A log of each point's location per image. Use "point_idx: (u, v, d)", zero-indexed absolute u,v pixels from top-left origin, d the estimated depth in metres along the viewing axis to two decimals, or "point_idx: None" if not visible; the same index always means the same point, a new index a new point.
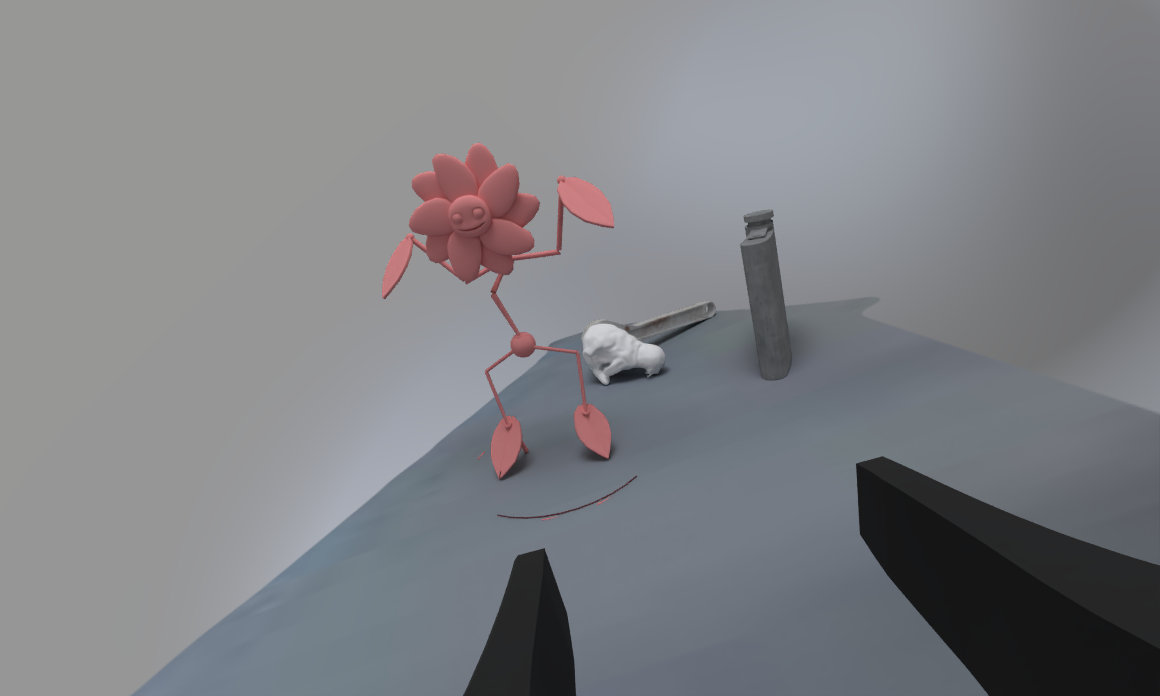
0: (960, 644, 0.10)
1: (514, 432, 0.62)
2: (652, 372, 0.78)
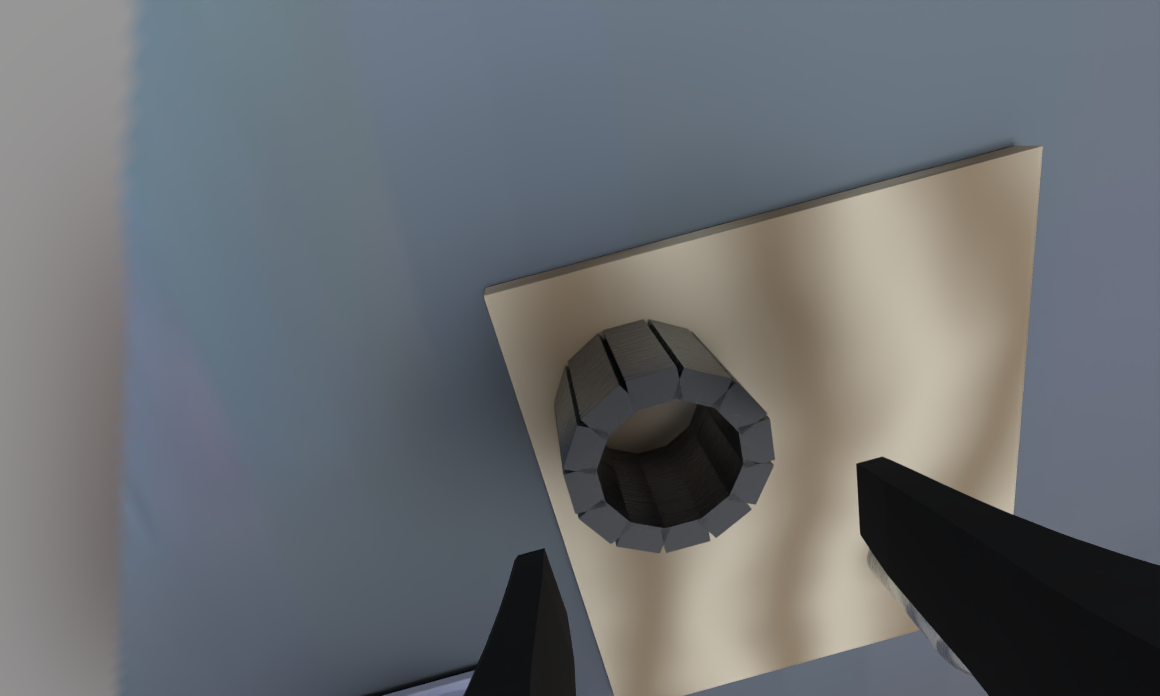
0: (960, 644, 0.10)
1: None
2: None
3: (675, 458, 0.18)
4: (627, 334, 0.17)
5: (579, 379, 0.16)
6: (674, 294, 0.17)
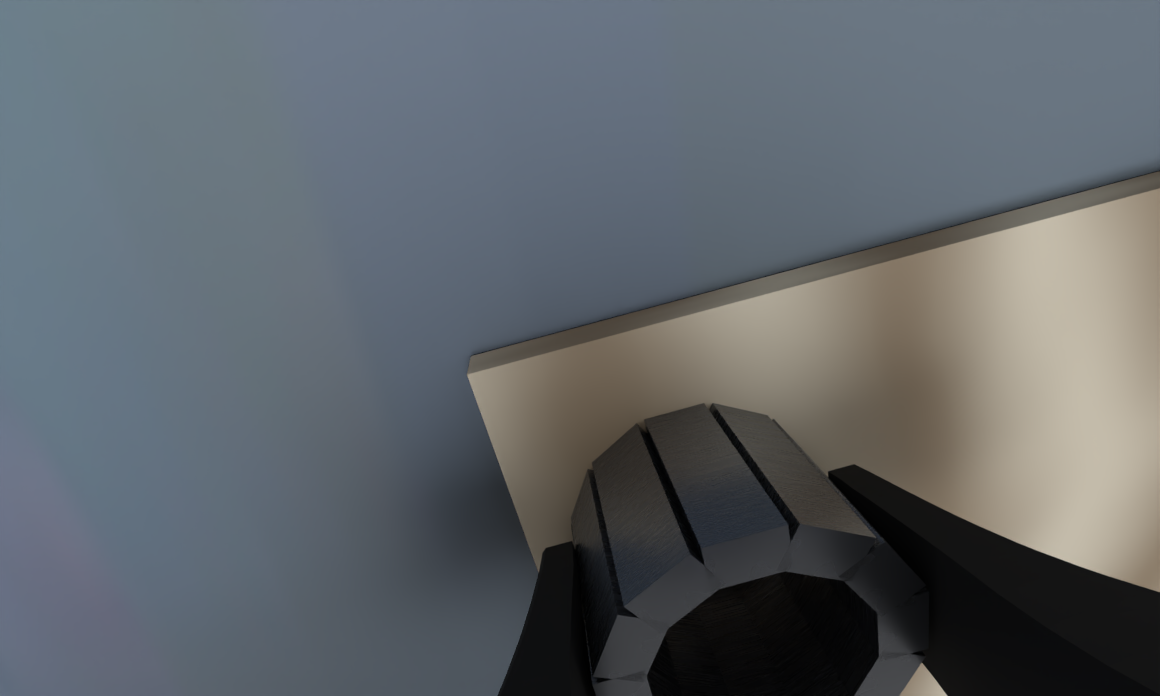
0: (927, 653, 0.10)
1: None
2: None
3: (745, 598, 0.13)
4: (684, 433, 0.11)
5: (613, 509, 0.10)
6: (750, 367, 0.12)
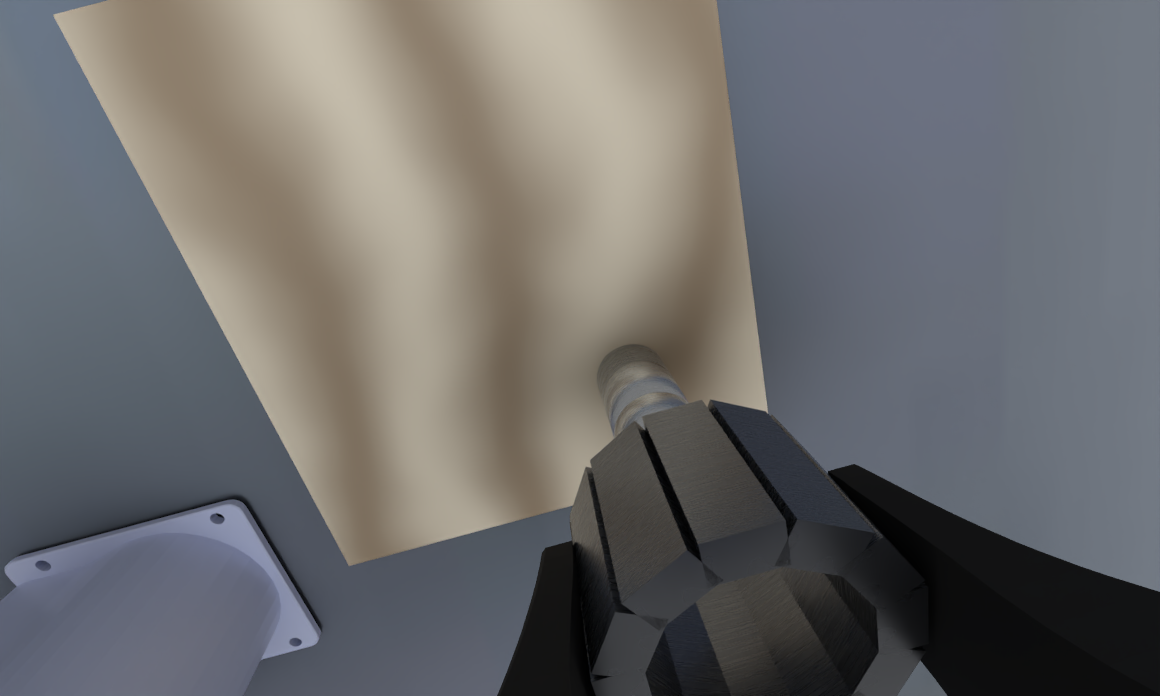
0: (927, 653, 0.10)
1: None
2: None
3: (745, 594, 0.13)
4: (682, 429, 0.11)
5: (611, 506, 0.10)
6: (287, 24, 0.15)
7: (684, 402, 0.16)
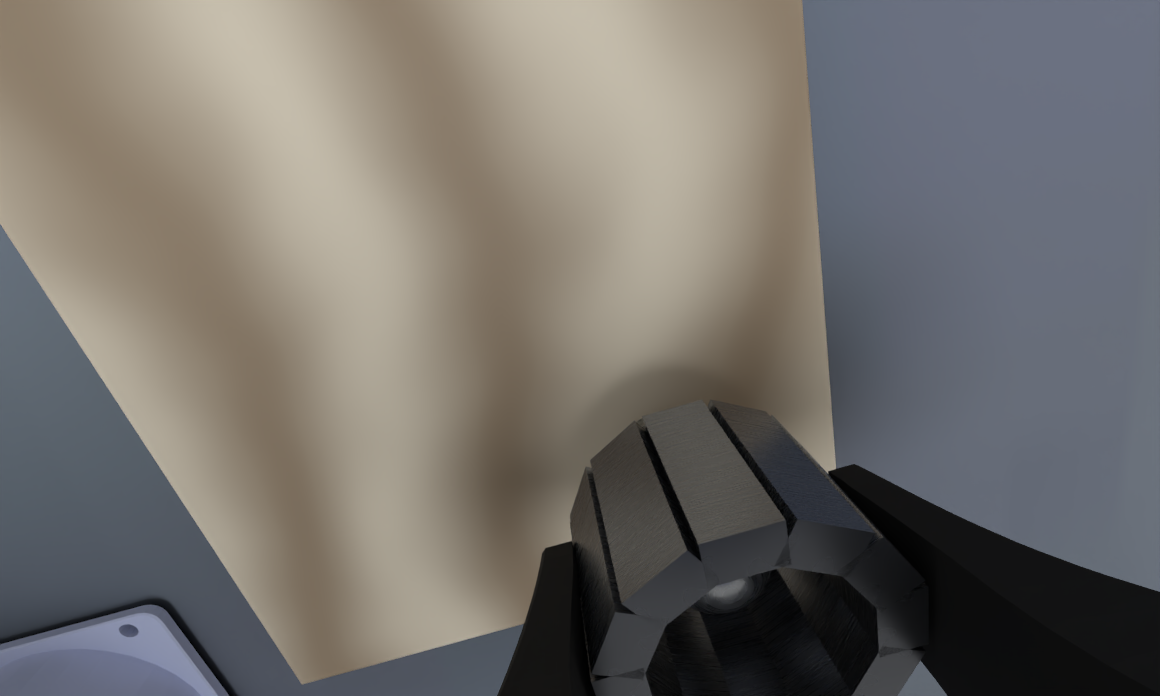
0: (927, 653, 0.10)
1: None
2: None
3: None
4: (682, 429, 0.11)
5: (611, 506, 0.10)
6: None
7: None
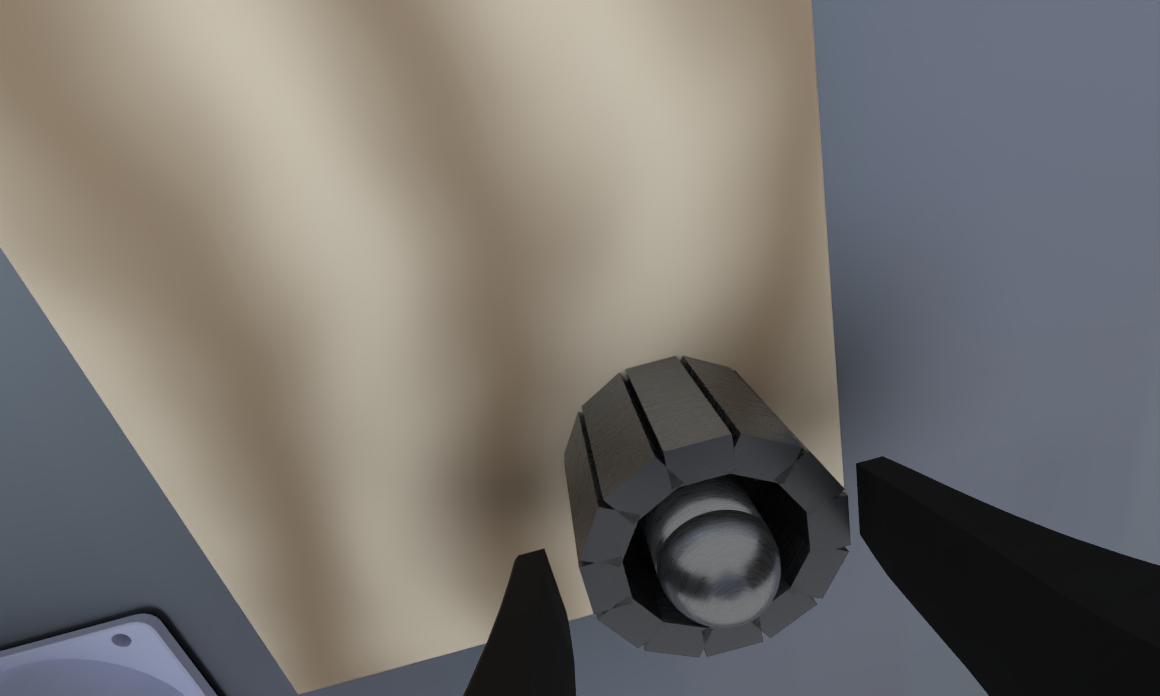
0: (960, 644, 0.10)
1: None
2: None
3: None
4: (657, 377, 0.13)
5: (598, 436, 0.13)
6: None
7: (760, 525, 0.11)
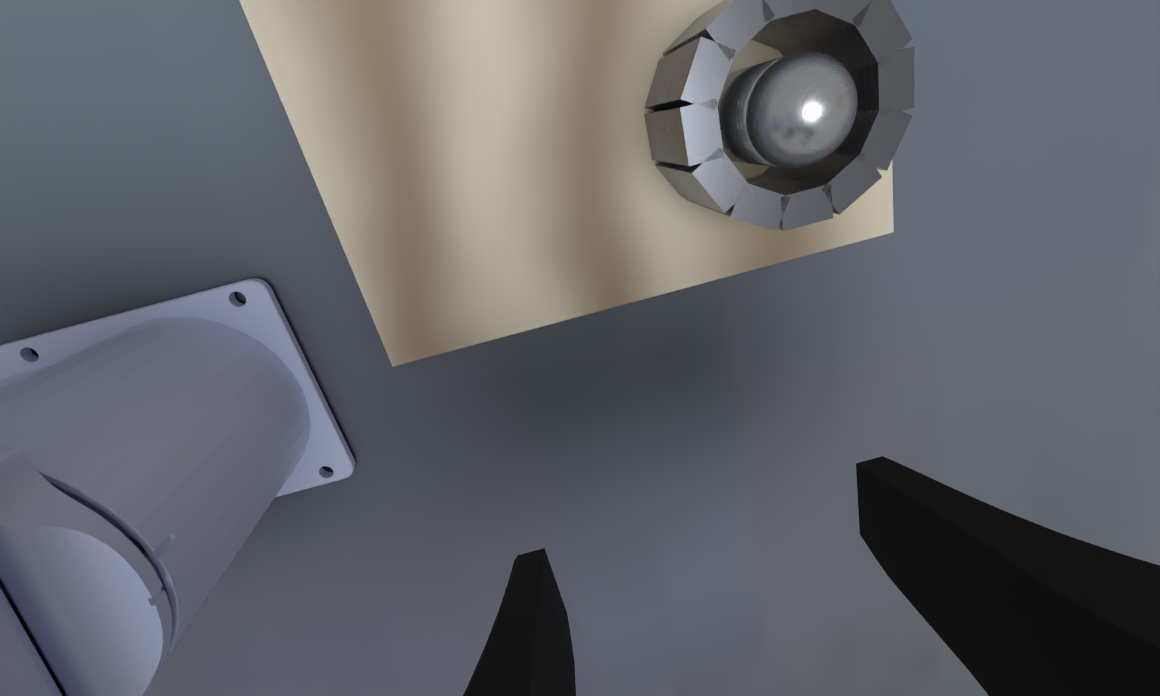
0: (960, 644, 0.10)
1: None
2: None
3: (777, 173, 0.17)
4: None
5: (687, 35, 0.14)
6: None
7: None
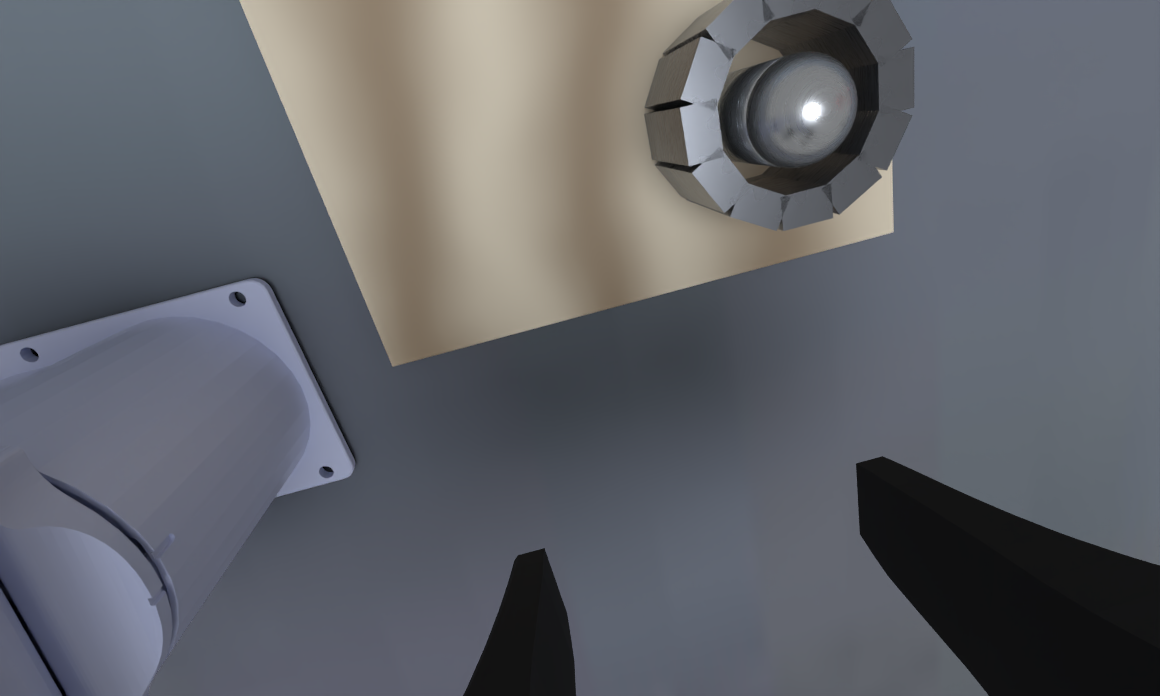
0: (960, 644, 0.10)
1: None
2: None
3: (777, 173, 0.17)
4: None
5: (687, 35, 0.14)
6: None
7: None
